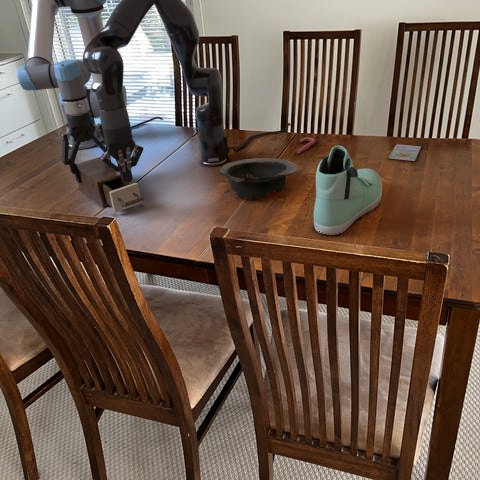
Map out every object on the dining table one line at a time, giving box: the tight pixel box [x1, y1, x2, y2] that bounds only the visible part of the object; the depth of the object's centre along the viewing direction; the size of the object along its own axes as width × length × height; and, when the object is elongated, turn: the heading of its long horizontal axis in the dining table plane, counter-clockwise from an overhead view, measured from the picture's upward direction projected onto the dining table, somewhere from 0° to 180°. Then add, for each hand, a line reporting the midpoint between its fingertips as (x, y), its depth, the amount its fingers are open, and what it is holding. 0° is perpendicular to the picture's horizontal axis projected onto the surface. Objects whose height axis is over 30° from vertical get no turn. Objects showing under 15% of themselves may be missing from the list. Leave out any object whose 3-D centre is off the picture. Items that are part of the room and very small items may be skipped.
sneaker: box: [313, 145, 383, 236], centre depth 133 cm, size 14×35×20 cm, turn 152°
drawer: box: [100, 177, 145, 213], centre depth 150 cm, size 25×9×7 cm, turn 37°
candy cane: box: [295, 136, 316, 155], centre depth 183 cm, size 6×15×2 cm, turn 145°
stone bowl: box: [217, 157, 299, 201], centre depth 152 cm, size 25×25×9 cm
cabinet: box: [76, 156, 121, 208], centre depth 158 cm, size 20×10×8 cm, turn 37°
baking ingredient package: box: [388, 143, 422, 162], centre depth 171 cm, size 9×1×15 cm
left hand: (94, 176), depth 164 cm, fingers closed on cabinet, 10 cm apart
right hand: (127, 181), depth 139 cm, fingers closed
